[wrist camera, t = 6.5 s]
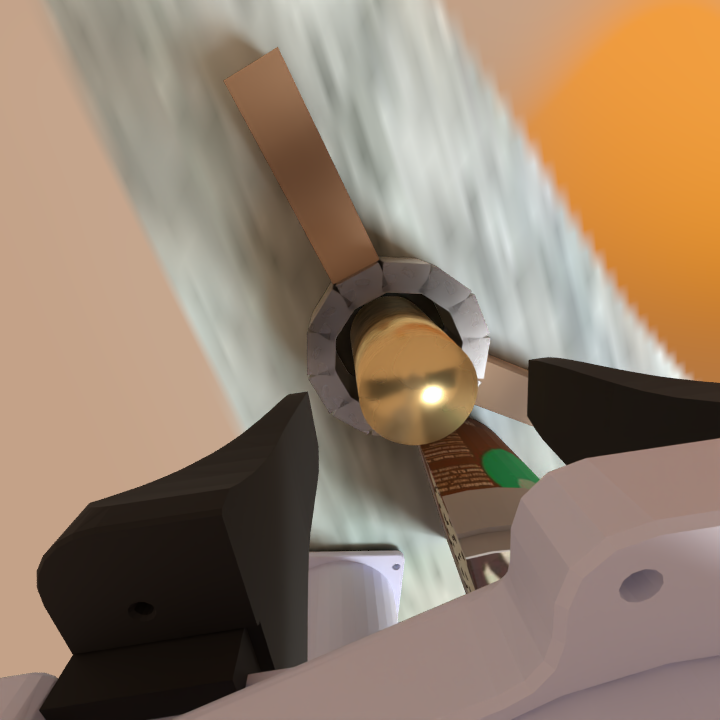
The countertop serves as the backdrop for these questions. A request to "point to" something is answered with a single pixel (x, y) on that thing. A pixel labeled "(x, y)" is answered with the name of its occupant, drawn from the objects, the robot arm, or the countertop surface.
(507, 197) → the countertop surface
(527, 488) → the food container
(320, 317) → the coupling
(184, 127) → the countertop surface
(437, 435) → the peg
